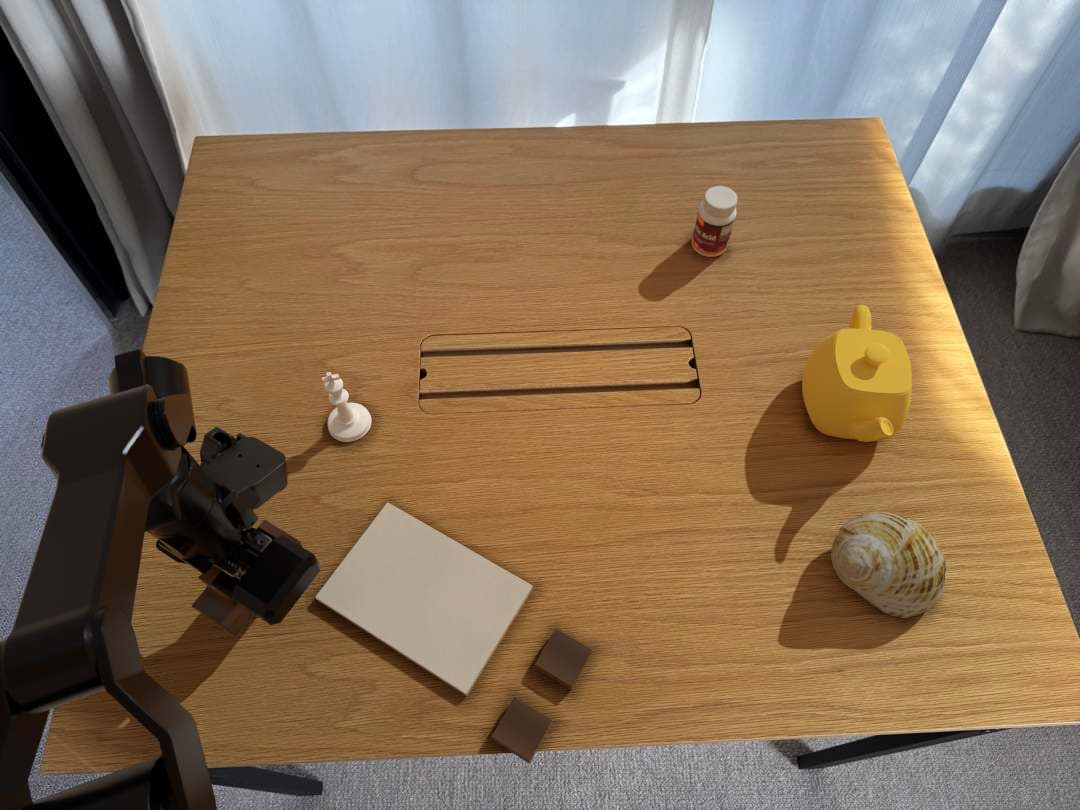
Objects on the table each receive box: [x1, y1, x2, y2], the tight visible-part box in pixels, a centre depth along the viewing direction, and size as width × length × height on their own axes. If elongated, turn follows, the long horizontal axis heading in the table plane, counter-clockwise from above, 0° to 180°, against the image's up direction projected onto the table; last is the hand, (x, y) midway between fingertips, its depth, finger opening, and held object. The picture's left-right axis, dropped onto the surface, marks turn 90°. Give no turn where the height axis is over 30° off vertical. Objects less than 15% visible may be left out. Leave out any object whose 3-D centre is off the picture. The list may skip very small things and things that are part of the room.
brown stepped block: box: [191, 518, 304, 638], centre depth 72 cm, size 10×4×7 cm, turn 149°
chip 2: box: [534, 627, 593, 691], centre depth 73 cm, size 4×4×2 cm
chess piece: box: [321, 371, 373, 443], centre depth 83 cm, size 5×5×10 cm
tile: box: [314, 501, 534, 697], centre depth 76 cm, size 12×18×1 cm, turn 59°
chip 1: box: [491, 696, 553, 764], centre depth 69 cm, size 4×4×2 cm
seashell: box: [830, 511, 947, 619], centre depth 75 cm, size 10×10×10 cm
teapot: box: [801, 304, 913, 443], centre depth 83 cm, size 18×11×11 cm, turn 174°
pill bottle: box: [691, 185, 738, 258], centre depth 98 cm, size 5×5×8 cm
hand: (245, 572), depth 72 cm, fingers closed on brown stepped block, 2 cm apart
